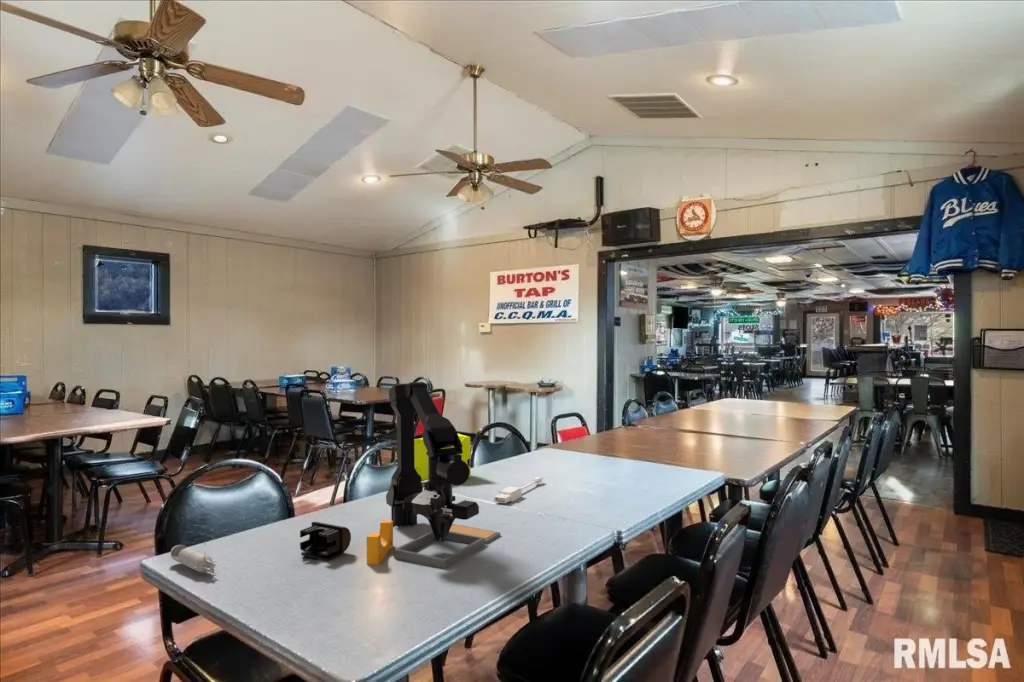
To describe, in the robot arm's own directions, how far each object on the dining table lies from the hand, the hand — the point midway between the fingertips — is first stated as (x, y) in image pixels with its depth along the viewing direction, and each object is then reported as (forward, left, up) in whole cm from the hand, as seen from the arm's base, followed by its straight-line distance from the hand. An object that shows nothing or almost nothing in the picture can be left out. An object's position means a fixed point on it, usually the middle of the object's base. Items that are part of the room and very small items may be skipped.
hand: (440, 541), depth 138 cm
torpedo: (-44, -34, -3) cm, 56 cm away
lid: (0, +13, -2) cm, 13 cm away
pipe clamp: (-12, -9, -3) cm, 15 cm away
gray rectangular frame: (0, 0, -2) cm, 2 cm away
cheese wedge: (-45, +65, -3) cm, 79 cm away
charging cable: (-8, +57, -3) cm, 58 cm away
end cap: (-24, -14, -3) cm, 28 cm away
